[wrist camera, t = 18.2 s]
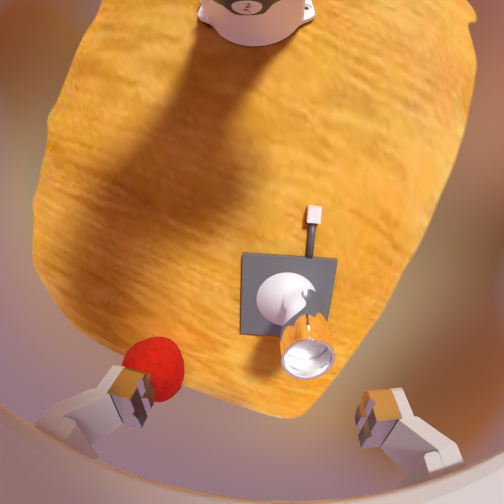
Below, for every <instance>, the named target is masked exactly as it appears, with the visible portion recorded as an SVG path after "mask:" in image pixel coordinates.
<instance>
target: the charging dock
mask: <svg viewBox="0 0 504 504" xmlns="http://www.w3.org/2000/svg"><path fill="white" fill-rule="evenodd" d="M321 213H322V207H321V206H313V205H308V206H307V218H306V221H307V223H310V225H309V236H308V246H307V256H292V255H277V254H262V253H247V252H243V261H242V299H241V333H243V334H255V335H268V336H280V333H281V328H282V324H283V321H284V318H285V315H286V313H285V311H284V308H283V299H284V297H285V295H286V293H287V292H288V291H289V290H291V289H292V288H295V287H298V286H306V287H309V288H312V289H313V290H314V291H315V292H316V293H317V295H318V297H319V310H320V312H321V313H322V315H323V316H324V318H325V320H326V321H327V319H328V314H329V309H330V304H331V298H332V292H333V286H334V280H335V274H336V267H337V261H338V260H337V259H336V258H323V257H313V250H314V240H315V231H316V223H317V224H321Z"/></svg>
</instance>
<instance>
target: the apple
mask: <svg viewBox="0 0 504 504" xmlns="http://www.w3.org/2000/svg"><path fill="white" fill-rule="evenodd" d="M122 366H124V367H128V368H132V369H135V370H139V371H143V372H147V373H149V374H150V376H151V379H152V380H151V382H150V384H151V385H152V386H153V387H154V391H155V399H154V402H163V401H166V400H168V399H170V398H172V397H173V396H174V395H175V394H176V393H177V392H178V391H179V389H180V388H181V385H182V381H183V377H184V362H183V359H182V356H181V353H180V350H179V348H178V347H177V345H176V344H175V343H174V342H173V341H171V340H170V339H167V338H165V337H152V338H148V339H146V340H143V341H141V342H138V343H137V344H135V345H133V346H132V347H131V348H130V349H129V350H128V351H127V353H126V355H125V358H124V360H123V362H122Z"/></svg>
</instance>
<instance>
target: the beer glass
mask: <svg viewBox="0 0 504 504" xmlns="http://www.w3.org/2000/svg"><path fill="white" fill-rule="evenodd" d="M283 308H284V311H285V313H286V315H285V318H284V321H283V324H282V328H281V333H280V354H281V365H282V368H283V369H284V371H285V372H286V373H287V374H288V375H290V376H292V377H294V378H297V379H313V378H317V377H319V376H321V375H323V374H325V373H326V372H327V371H328V370H329V369H330V368H331V367H332V365H333V363H334V360H335V354H334V347H333V340H332V334H331V331H330V328H329V325H328V323H327V321H326V320H325V318H324V316H323V315H322V313H321V312H320V310H319V297H318V295H317V293H316V292H315V291H314V290H313V289H312V288H309V287H306V286H298V287H295V288H292V289H291V290H289V291H288V292H287V293H286V295H285V297H284V299H283Z"/></svg>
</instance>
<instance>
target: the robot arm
mask: <svg viewBox="0 0 504 504" xmlns="http://www.w3.org/2000/svg"><path fill="white" fill-rule="evenodd" d="M199 1H200V3H201V7H200V9H199V12H198V17H199V19H200V20H201V21H203V22H205V23H207V24H210V25H211V26H213V27H214V28H215V30H216V31H217V32H218V33H219V34H220V35H221V36H222V37H223V38H225V39H227V40H228V41H231V42H233V43H236V44H239V45H244V46H264V45H270V44H273V43H276V42H279V41H281V40H283V39H285V38H287V37H288V36H289V35H291V34H292V33H293V32H294V31H295V30H296V29H297V28H298V27H299V26H300V25H302V24H304V23H307V22H309V21H311V20H313V19H314V18H315V11H314V7H313V4H312V1H311V0H199ZM305 8H308V10H305ZM151 380H152V379H151V376H150V374H149V373H147V372H143V371H139V370H135V369H132V368H128V367H124V366H120V365H117V364H115V365H113V366H112V367H111V368H110V370H109V371H108V373H107V374H106V375H105V377H104V378H103V379H102V381H101V382H100V383H99V385H98V386H97V388H96V389H94V388H92V389H90V390H87V391H85V392H83V393H80V394H78V395H76V396H73V397H71V398H68V399H66V400H64V401H61V402H59V403H56V404H54V405H51V406H49V407H48V408H47V409H46V411H45V412H44V413H43V414H42V416H41V417H40V418H39V420H38V421H37V422H36V424H35V425H34V426H32V425H31V424H29V423H28V422H26V421H25V420H23V419H22V418H20V417H19V416H18V415H16V414H15V413H13V412H12V411H11V410H9V409H8V408H7V407H5V406H4V405H3V404H1V403H0V504H504V449H503V450H501V451H499V452H497V453H495V454H493V455H491V456H489V457H487V458H485V459H483V460H481V461H478V462H476V463H474V464H472V465H469V466H467V467H465V464H464V462H463V459H462V457H461V454H460V452H459V450H458V447H457V445H456V443H454V442H453V441H451V440H450V439H448V438H447V437H445V436H444V435H442V434H441V433H440V432H438V431H437V430H436V429H434V428H433V427H431V426H430V425H429V424H427V423H426V422H424V421H423V420H422V419H420V418H419V417H414V415H413V413H412V410H411V408H410V406H409V403H408V401H407V398H406V396H405V394H404V391H403V389H402V388H393V389H382V390H370V391H365V392H364V393H363V395H362V401H363V402H361V403H360V404H359V405H358V407H357V409H356V414H355V422H356V427H357V428H359V429H360V430H361V431H360V433H359V435H358V437H359V442H360V446H361V448H370V447H379V446H381V448H382V450H383V451H385V453H386V454H387V455H388V456H389V457H390V458H391V459H392V460H393V461H394V462H395V463H396V464H397V465H398V466H399V467H400V469H402V471H404V472H405V474H406V475H405V476H404V477H403V478H402V479H401V480H400V481H399V482H398V483H397V485H396V486H397V489H395V490H390V491H385V492H380V493H374V494H368V495H362V496H356V497H347V498H338V499H326V500H307V501H306V500H305V501H279V500H278V501H277V500H258V499H246V498H236V497H228V496H221V495H215V494H208V493H203V492H198V491H192V490H188V489H183V488H179V487H175V486H171V485H167V484H164V483H160V482H157V481H153V480H150V479H147V478H143V477H140V476H137V475H134V474H131V473H129V472H126V471H123V470H120V469H118V468H115V467H112V466H110V465H108V464H105V463H103V462H100V461H98V460H96V459H97V457H98V455H97V453H96V451H95V450H94V448H93V447H92V446H91V445H92V444H93V443H95V442H96V441H98V440H99V439H101V438H103V437H104V436H106V435H107V434H109V433H110V432H112V431H113V430H115V429H116V428H118V427H119V426H121V425H122V424H123V423H124V424H128V425H131V426H135V427H139V428H142V427H143V425H144V423H145V421H146V418H147V414H146V411H148V410H150V409H151V408H152V406H153V404H154V399H155V391H154V387H153V386H152V385H151V384H150V382H151Z"/></svg>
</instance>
